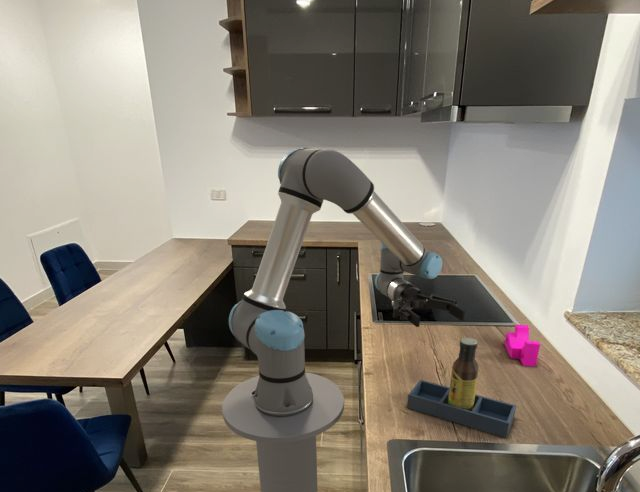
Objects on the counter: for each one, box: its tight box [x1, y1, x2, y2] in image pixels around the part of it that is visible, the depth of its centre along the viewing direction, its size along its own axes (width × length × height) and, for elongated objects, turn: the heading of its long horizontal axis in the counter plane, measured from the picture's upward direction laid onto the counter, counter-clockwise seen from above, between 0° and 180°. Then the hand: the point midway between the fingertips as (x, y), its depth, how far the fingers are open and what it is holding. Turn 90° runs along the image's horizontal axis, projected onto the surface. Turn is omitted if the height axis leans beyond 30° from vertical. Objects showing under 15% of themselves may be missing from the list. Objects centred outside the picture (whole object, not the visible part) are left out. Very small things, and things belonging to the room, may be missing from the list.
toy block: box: [503, 324, 541, 367], centre depth 142 cm, size 15×6×8 cm, turn 173°
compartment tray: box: [406, 379, 517, 439], centre depth 112 cm, size 25×9×4 cm, turn 60°
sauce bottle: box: [448, 337, 479, 411], centre depth 109 cm, size 6×6×20 cm
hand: (441, 319), depth 117 cm, fingers open, 13 cm apart
